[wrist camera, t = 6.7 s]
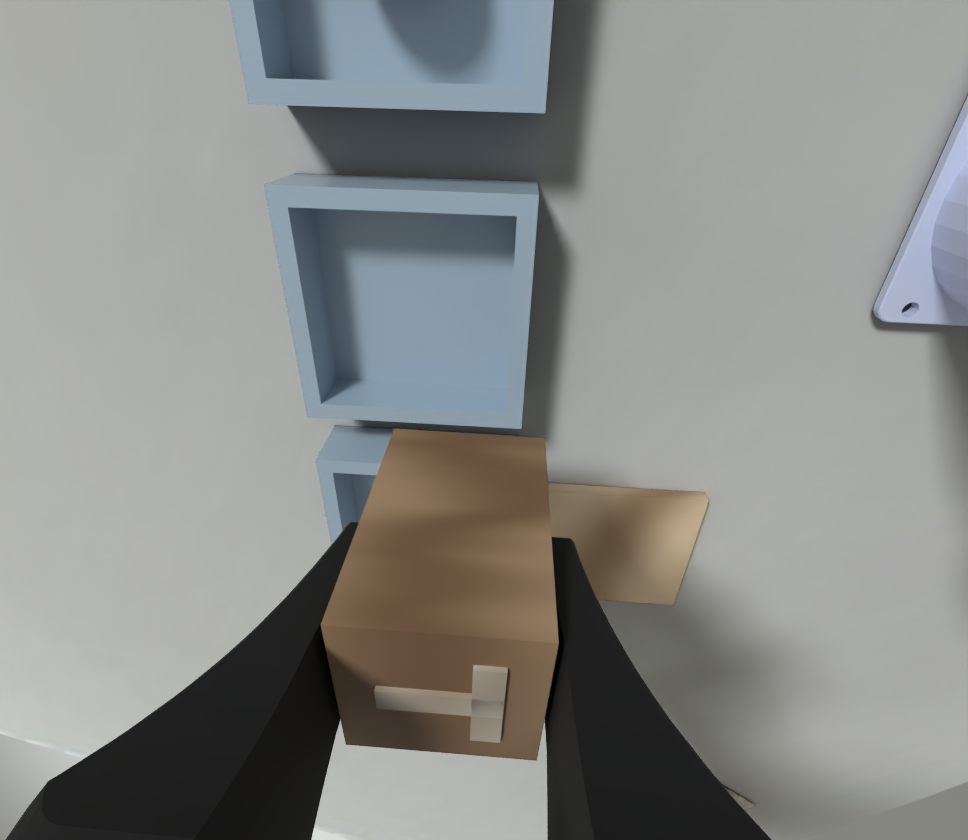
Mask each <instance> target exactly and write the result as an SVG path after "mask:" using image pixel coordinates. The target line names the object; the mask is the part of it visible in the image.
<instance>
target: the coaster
mask: <svg viewBox="0 0 968 840" xmlns="http://www.w3.org/2000/svg"><path fill="white" fill-rule="evenodd" d="M548 492H549V507H550V522H551V536H552V537H560V538H571V539H572V540H573V542H574V543H575V546H576V549H577V552H578V555H579V558H580V561H581V563H582V566H583V568H584V571H585V573H586V575H587V578H588V580H589V582H590V585H591V587H592V589H593V591H594V593H595V596H596V598H597V600H607V601H621V602H636V603H651V604H665V605H674V602H675V599H676V596H677V593H678V590H679V587H680V584H681V581H682V579H683V576H684V573H685V570H686V567H687V564H688V561H689V558H690V555H691V552H692V549H693V546H694V543H695V540H696V537H697V534H698V532H699V529H700V526H701V523H702V520H703V517H704V514H705V511H706V508H707V505H708V502H709V501H708V499H707V496H706V494H705V492H689V491H672V490H656V489H639V488H622V487H606V486H589V485H572V484H555V483H548Z"/></svg>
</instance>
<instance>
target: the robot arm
mask: <svg viewBox="0 0 968 840" xmlns="http://www.w3.org/2000/svg"><path fill="white" fill-rule="evenodd" d="M909 303H912V304H911V307H910V308H909V309H908V310H907V311H905V312H903V313H902V309H903V308H904V307H905V305H907V304H909ZM873 312H874V315H875V316H876V317H877V318H879V319H880V320H882V321H884V322H890V323H912V324H933V325H955V326H968V97H967V99H966V101H965V103H964V106H963V108H962V110H961V112H960V114H959V117H958V119H957V121H956V123H955V126H954V128H953V130H952V132H951V135H950V137H949V139H948V141H947V144H946V146H945V148H944V150H943V153H942V155H941V157H940V159H939V161H938V164H937V166H936V168H935V170H934V173H933V175H932V177H931V179H930V182H929V184H928V186H927V188H926V191H925V193H924V195H923V197H922V200H921V202H920V204H919V206H918V208H917V211H916V213H915V215H914V217H913V220H912V222H911V224H910V226H909V229H908V231H907V233H906V235H905V238H904V240H903V242H902V244H901V247H900V249H899V251H898V253H897V255H896V258H895V260H894V262H893V264H892V267H891V269H890V271H889V273H888V276H887V278H886V280H885V282H884V285H883V287H882V289H881V291H880V294H879V296H878V298H877V300H876V302H875V305H874V309H873ZM358 524H359V522H350V523H349V524H348V525H347V526H346V527H345V528H344V530H343V531H342V532H341V534H340V535H339V536H338V537H337V539H336V540H335V541H334V543H333V544H332V545H331V546H330V547H329V549H328V550H327V551H326V552H325V554H324V555H323V556H322V557H321V558H320V560H319V561H318V562H317V563H316V564H315V566H314V567H313V568H312V569H311V570H310V571H309V572H308V573H307V575H306V576H305V577H304V578H303V579H302V580H301V581H300V582H299V584H298V585H297V586H296V587H295V588H294V589H293V590H292V591H291V593H290V594H289V595H288V596H287V597H286V598H285V599H284V600H283V601H282V602H281V603H280V604H279V605H278V606H277V607H276V608H275V609H274V610H273V611H272V612H271V613H270V614H269V615H268V616H267V617H266V618H265V619H264V620H263V621H262V622H261V623H260V624H259V625H258V626H257V627H256V628H255V629H254V630H253V631H252V632H251V633H250V634H249V635H248V636H247V637H245V638H244V639H243V640H242V641H241V642H240V643H239V644H238V645H237V646H236V647H234V648H233V649H232V650H231V651H230V652H229V653H228V654H227V655H225V656H224V657H223V658H222V659H221V660H220V661H218V662H217V663H216V664H215V665H214V666H212V667H211V668H210V669H209V670H207V671H206V672H205V673H204V674H203V675H201V676H200V677H199V678H198V679H197V680H195V681H194V682H193V683H192V684H190V685H189V686H188V687H186V688H185V689H184V690H183V691H181V692H180V693H179V694H177V695H176V696H175V697H173V698H172V699H171V700H169V701H168V702H167V703H165V704H164V705H162V706H161V707H160V708H158V709H157V710H155V711H154V712H153V713H151V714H150V715H148V716H147V717H146V718H144V719H143V720H142V721H140V722H139V723H137V724H136V725H135V726H133V727H132V728H130V729H129V730H128V731H126V732H125V733H123V734H122V735H120V736H119V737H117V738H116V739H114V740H113V741H111V742H110V743H108V744H107V745H105V746H103V747H102V748H100V749H99V750H97V751H96V752H94V753H92V754H91V755H89V756H88V757H86V758H85V759H83V760H82V761H80V762H78V763H77V764H75V765H74V766H72V767H71V768H69V769H68V770H66V771H64V772H63V773H61V774H60V775H58V776H56V777H55V778H53V779H51V780H50V781H48V782H47V784H46V785H45V786H44V788H43V789H42V790H41V791H40V793H39V794H38V795H37V796H36V798H35V799H34V800H33V801H32V803H31V804H30V805H29V807H28V808H27V809H26V811H25V812H24V814H23V815H22V817H21V818H20V820H19V821H18V823H17V824H16V825H15V827H14V828H13V830H12V831H11V833H10V834H9V836H8V837H7V839H6V840H311V838H312V833H313V829H314V824H315V820H316V815H317V811H318V807H319V802H320V798H321V794H322V789H323V785H324V781H325V777H326V772H327V768H328V764H329V760H330V756H331V752H332V748H333V744H334V740H335V736H336V732H337V729H338V725H339V722H340V714H339V709H338V704H337V700H336V695H335V690H334V686H333V681H332V676H331V672H330V667H329V662H328V658H327V653H326V648H325V643H324V639H323V634H322V629H321V622H322V620H323V617H324V614H325V612H326V609H327V606H328V604H329V601H330V598H331V596H332V593H333V590H334V588H335V585H336V582H337V580H338V577H339V574H340V572H341V569H342V566H343V564H344V561H345V558H346V556H347V553H348V550H349V548H350V545H351V542H352V540H353V537H354V534H355V532H356V529H357V526H358ZM552 551H553V566H554V580H555V595H556V610H557V624H558V639H559V645H558V650H557V655H556V661H555V666H554V671H553V676H552V682H551V687H550V692H549V698H548V703H547V708H546V714H545V729H546V745H547V797H548V840H771V839H770V838H769V837H768V835H767V834H766V833H765V832H764V831H763V830H762V829H761V828H760V827H759V826H758V825H757V824H756V823H755V822H754V820H753V819H752V818H751V817H750V816H749V815H748V814H747V813H746V812H745V810H744V809H743V808H742V807H741V806H740V805H739V804H738V803H737V802H736V800H735V799H734V798H733V797H732V796H731V795H730V794H729V792H728V791H727V790H726V789H725V788H724V786H723V785H722V784H721V783H720V782H719V781H718V779H717V778H716V777H715V776H714V775H713V774H712V772H711V771H710V770H709V769H708V768H707V766H706V765H705V764H704V763H703V761H702V760H701V759H700V757H699V756H698V755H697V754H696V752H695V751H694V750H693V749H692V747H691V746H690V745H689V743H688V742H687V741H686V740H685V738H684V737H683V736H682V734H681V733H680V732H679V731H678V729H677V728H676V727H675V725H674V724H673V723H672V721H671V720H670V719H669V717H668V716H667V715H666V713H665V712H664V710H663V709H662V707H661V706H660V705H659V703H658V702H657V700H656V699H655V698H654V696H653V695H652V693H651V692H650V690H649V689H648V687H647V686H646V684H645V683H644V681H643V680H642V678H641V677H640V675H639V673H638V672H637V670H636V669H635V667H634V665H633V664H632V662H631V660H630V659H629V657H628V655H627V654H626V652H625V650H624V649H623V647H622V645H621V643H620V642H619V640H618V638H617V636H616V635H615V633H614V631H613V629H612V627H611V625H610V623H609V622H608V620H607V618H606V616H605V614H604V612H603V610H602V608H601V606H600V604H599V602H598V600H597V598H596V596H595V593H594V591H593V589H592V587H591V585H590V582H589V580H588V578H587V575H586V573H585V571H584V568H583V566H582V563H581V561H580V558H579V555H578V552H577V549H576V546H575V543H574V542H573V540H572V539H571V538H560V537H552Z"/></svg>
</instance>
